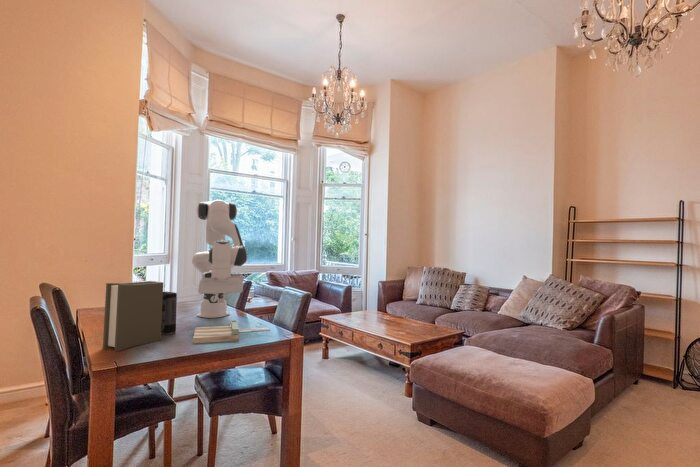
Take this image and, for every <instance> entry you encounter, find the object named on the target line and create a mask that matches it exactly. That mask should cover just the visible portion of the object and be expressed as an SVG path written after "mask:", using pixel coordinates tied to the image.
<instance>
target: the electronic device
mask: <svg viewBox="0 0 700 467" xmlns="http://www.w3.org/2000/svg"><path fill="white" fill-rule="evenodd" d="M177 298H178V293H177V292H174V291H173V292H172V291H163V301H162V320H161V335H167V336H169V335H174V334H176V332H177V304H178V303H177V300H178V299H177Z"/></svg>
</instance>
